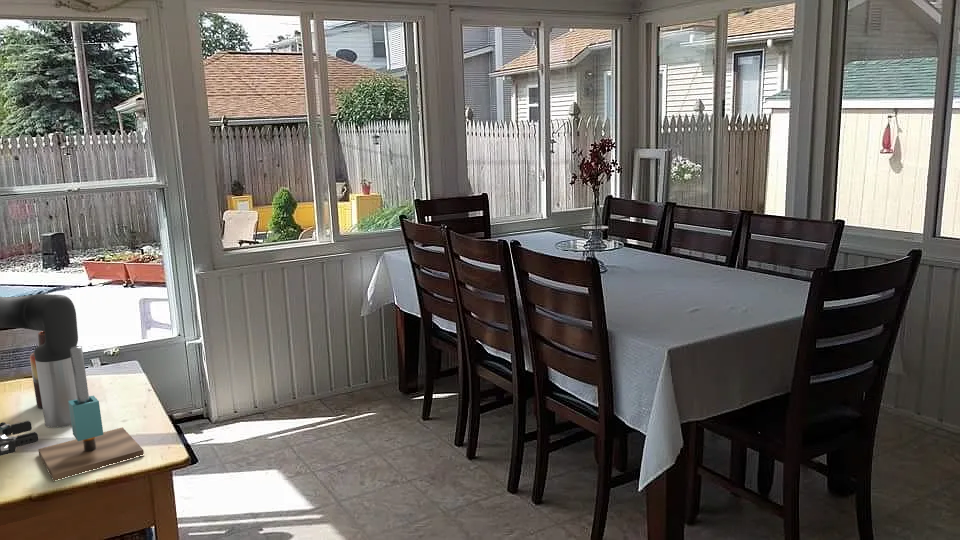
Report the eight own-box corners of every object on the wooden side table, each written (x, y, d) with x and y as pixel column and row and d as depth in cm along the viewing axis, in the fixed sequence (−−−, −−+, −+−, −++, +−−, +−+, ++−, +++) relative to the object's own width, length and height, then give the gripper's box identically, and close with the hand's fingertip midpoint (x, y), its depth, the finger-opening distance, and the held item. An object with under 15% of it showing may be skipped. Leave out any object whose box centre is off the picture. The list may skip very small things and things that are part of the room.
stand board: (39, 455, 168) (38, 449, 168) (123, 433, 180) (122, 427, 179) (53, 481, 155) (52, 475, 154) (144, 455, 166) (143, 449, 165)
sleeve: (73, 434, 167) (68, 401, 165) (98, 428, 170) (93, 395, 168) (77, 441, 163) (72, 407, 161) (103, 434, 166) (98, 401, 164)
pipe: (82, 449, 167) (67, 347, 163) (95, 445, 169) (80, 345, 164) (85, 452, 165) (70, 350, 161) (97, 449, 167) (83, 347, 162)
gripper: (-58, 445, 143) (37, 423, 153) (-63, 425, 154) (26, 405, 164) (-52, 481, 144) (42, 457, 154) (-57, 459, 155) (31, 437, 165)
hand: (34, 430), depth 159 cm, fingers open, 8 cm apart
